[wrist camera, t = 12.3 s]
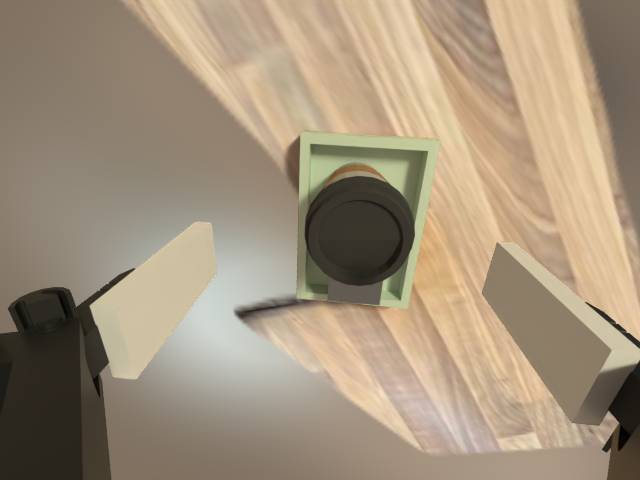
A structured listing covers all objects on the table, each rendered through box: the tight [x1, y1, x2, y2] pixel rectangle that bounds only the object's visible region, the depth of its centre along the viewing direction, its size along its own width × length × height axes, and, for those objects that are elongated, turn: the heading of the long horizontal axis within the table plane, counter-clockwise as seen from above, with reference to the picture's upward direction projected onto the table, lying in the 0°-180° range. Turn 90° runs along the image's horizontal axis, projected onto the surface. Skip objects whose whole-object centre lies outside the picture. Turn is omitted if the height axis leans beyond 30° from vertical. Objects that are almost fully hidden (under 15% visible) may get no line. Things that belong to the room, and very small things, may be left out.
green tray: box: [296, 131, 441, 309], centre depth 36 cm, size 20×14×3 cm
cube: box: [327, 277, 383, 305], centre depth 37 cm, size 6×6×5 cm
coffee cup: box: [304, 162, 415, 286], centre depth 29 cm, size 8×8×15 cm
